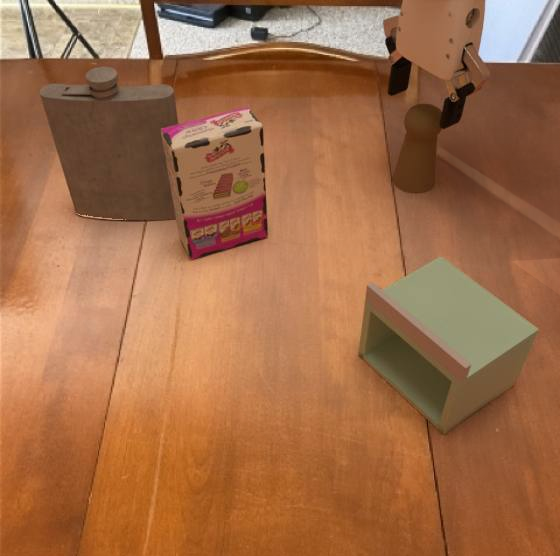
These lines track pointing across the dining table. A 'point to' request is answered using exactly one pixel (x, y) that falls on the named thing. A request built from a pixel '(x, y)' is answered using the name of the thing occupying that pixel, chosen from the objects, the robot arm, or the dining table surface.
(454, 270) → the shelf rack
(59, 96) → the hip flask
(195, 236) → the candy bar box
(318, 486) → the dining table surface
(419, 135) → the brown pawn
